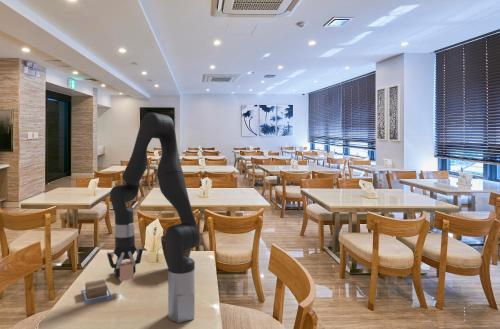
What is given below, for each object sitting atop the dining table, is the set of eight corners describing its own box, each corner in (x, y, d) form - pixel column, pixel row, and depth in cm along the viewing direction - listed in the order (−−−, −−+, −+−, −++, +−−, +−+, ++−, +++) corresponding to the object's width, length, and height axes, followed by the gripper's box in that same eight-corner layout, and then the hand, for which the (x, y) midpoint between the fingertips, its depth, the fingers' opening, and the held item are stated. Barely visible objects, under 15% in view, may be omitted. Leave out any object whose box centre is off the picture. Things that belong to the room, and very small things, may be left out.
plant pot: (158, 266, 174) (157, 234, 173) (188, 262, 181) (188, 231, 179) (164, 277, 161) (164, 243, 160) (196, 272, 167) (196, 239, 166)
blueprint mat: (113, 300, 139) (113, 298, 139) (84, 306, 134) (84, 304, 134) (107, 286, 151) (106, 285, 151) (80, 291, 146) (80, 290, 146)
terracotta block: (133, 278, 144) (133, 264, 144) (120, 281, 142) (120, 266, 141) (130, 274, 149) (130, 260, 148) (117, 276, 146) (117, 262, 146)
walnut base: (107, 295, 142) (106, 285, 142) (87, 299, 139) (87, 289, 138) (104, 288, 148) (103, 279, 148) (85, 292, 145) (85, 282, 144)
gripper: (107, 239, 137) (108, 282, 138) (145, 233, 145) (146, 275, 146) (104, 234, 143) (105, 276, 145) (140, 229, 151) (141, 269, 152)
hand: (125, 275), depth 145 cm, fingers closed on terracotta block, 5 cm apart
